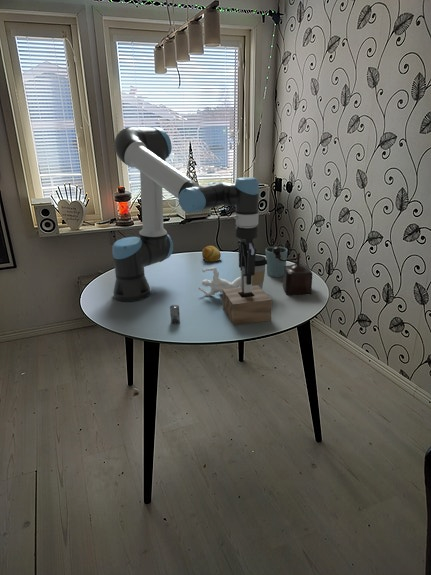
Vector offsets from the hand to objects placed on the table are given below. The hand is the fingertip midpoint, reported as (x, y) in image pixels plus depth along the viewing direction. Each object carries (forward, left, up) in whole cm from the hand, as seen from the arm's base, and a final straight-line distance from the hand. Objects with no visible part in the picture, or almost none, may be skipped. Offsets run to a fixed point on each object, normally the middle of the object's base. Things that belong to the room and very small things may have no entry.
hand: (246, 290), depth 136 cm
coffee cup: (-19, +10, -10) cm, 24 cm away
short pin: (-1, -26, -10) cm, 28 cm away
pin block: (0, 0, -10) cm, 10 cm away
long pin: (0, 0, -5) cm, 5 cm away
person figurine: (-18, -4, -10) cm, 21 cm away
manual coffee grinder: (-17, +25, -10) cm, 32 cm away
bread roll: (-68, +2, -10) cm, 69 cm away
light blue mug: (-37, +26, -10) cm, 47 cm away
